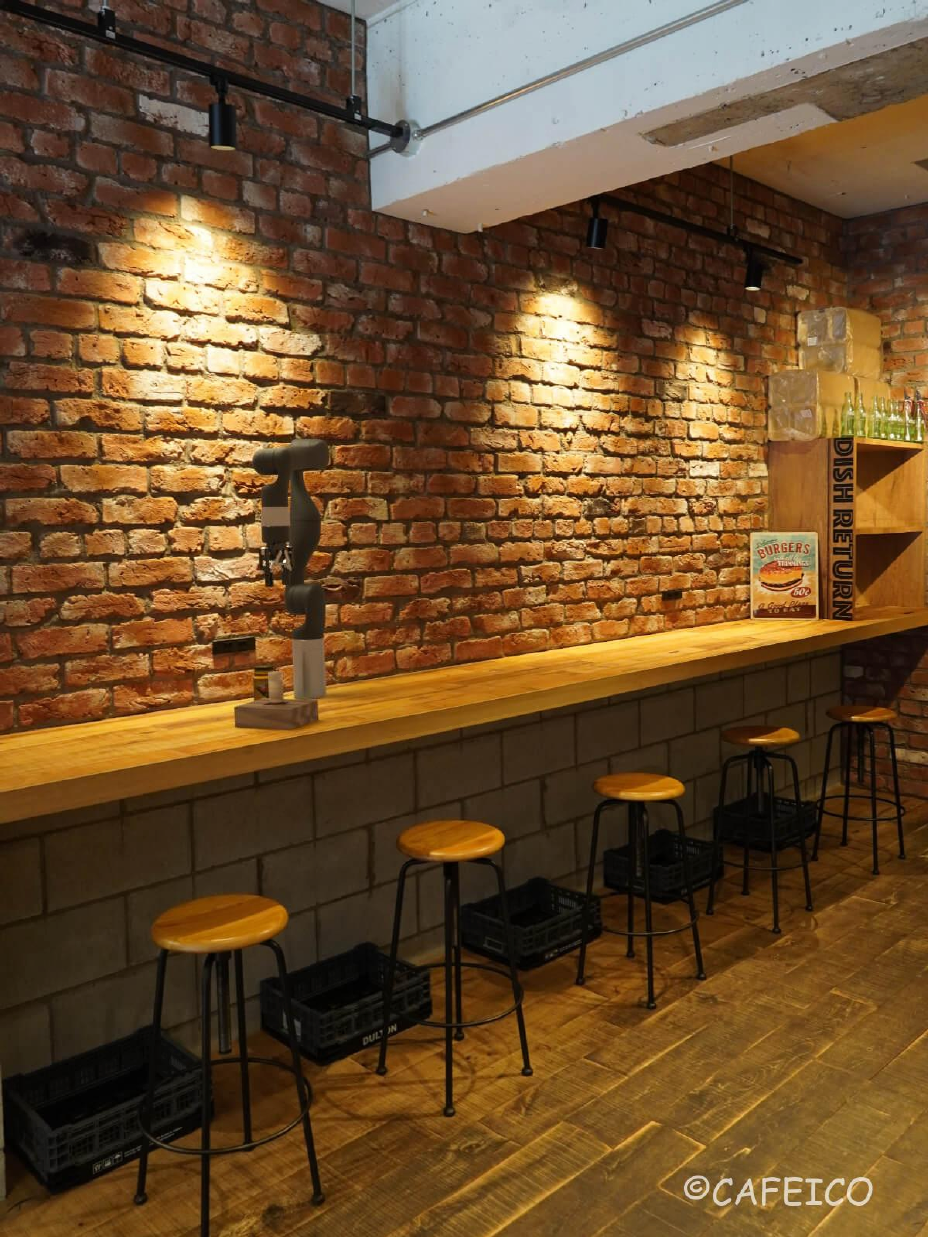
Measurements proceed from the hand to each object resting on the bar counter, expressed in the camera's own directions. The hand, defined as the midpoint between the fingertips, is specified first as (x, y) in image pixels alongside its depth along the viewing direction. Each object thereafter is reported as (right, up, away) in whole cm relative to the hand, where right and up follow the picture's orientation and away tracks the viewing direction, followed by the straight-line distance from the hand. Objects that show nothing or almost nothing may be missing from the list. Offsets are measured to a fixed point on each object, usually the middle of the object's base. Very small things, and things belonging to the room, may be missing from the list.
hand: (277, 586), depth 277 cm
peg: (+2, -35, -11) cm, 37 cm away
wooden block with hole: (+2, -35, -11) cm, 37 cm away
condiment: (-6, -34, +11) cm, 36 cm away
